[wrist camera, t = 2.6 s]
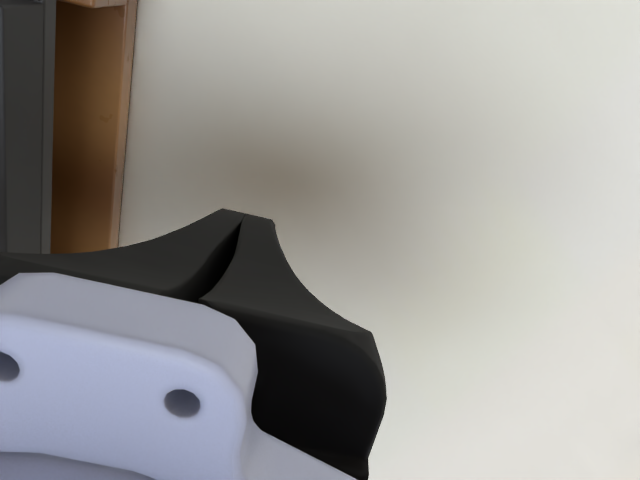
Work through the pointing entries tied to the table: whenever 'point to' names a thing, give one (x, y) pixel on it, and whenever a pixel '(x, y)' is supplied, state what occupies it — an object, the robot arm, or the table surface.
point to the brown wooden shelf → (90, 121)
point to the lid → (26, 124)
